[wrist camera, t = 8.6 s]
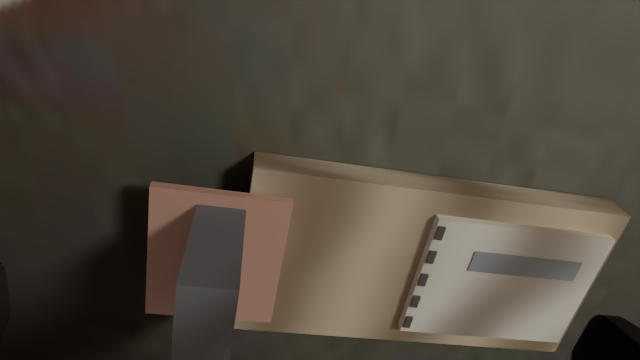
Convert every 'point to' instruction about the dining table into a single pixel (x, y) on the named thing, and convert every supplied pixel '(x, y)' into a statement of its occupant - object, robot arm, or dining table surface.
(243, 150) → the dining table surface
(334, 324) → the ticket board
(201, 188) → the stub
